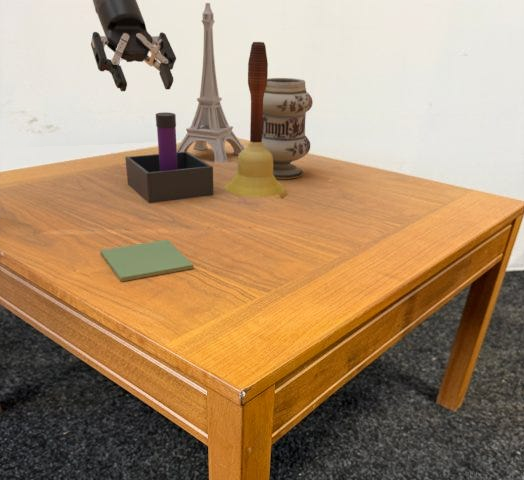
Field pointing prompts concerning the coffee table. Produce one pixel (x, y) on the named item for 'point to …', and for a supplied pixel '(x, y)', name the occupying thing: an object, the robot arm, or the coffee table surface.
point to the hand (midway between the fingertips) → (147, 87)
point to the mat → (145, 260)
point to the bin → (169, 178)
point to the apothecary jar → (285, 124)
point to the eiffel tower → (210, 106)
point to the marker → (167, 141)
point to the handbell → (256, 137)
